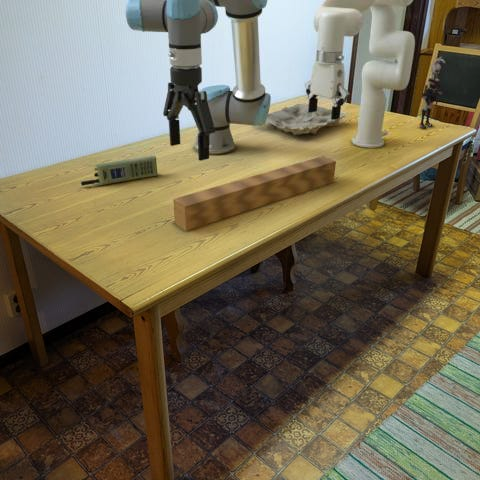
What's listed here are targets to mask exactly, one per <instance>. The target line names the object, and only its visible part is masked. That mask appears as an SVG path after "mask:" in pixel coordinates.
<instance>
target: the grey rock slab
mask: <svg viewBox="0 0 480 480" xmlns="http://www.w3.org/2000/svg"><path fill="white" fill-rule="evenodd" d="M308 109H309V104H307V103H304V104H302V103H297V104H294V105H292V106H289V107H287V106H285V107H282V108H281V109H280V110H276V111H273V112H271V113H268V117H267V120H266V122H265V123H268V124H271V125H273V126H275V127H276V128H277V130H279V131H284V132H285V133H287V134H288V133H291V134H293V136H295V135H302V134H313V135H316V134H317V131H319V129H321V128H323V127H325V126H327V127H328V126H329V127H337V126H339V124H340V121H341V120H342V119H344V118H345V117H348V116H350V113H344V112H340V118H339V119H335V120H332V119H331V114H332V108H331V109H330V108H326V107H323V106H318V105H317V111H315V112H311V113H310V112H308Z"/></svg>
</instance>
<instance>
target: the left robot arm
mask: <svg viewBox="0 0 480 480" xmlns="http://www.w3.org/2000/svg"><path fill="white" fill-rule="evenodd" d="M267 4H268V0H128V1H127V2H126V4H125V5H126V6H125V18H126V19H125V20H126V24H127V25H128V27H129V28H130V29H131V30H133V31H138V32H143V33H145V32H152V33H167V37H168V52H169V53H168V57H169V65H170V68H169V74H170V75H169V77H170V78H169V79H170V82H168V83H167V93H166V98H165V103H164V107H163V111H162V115H163V117H166V120H167V121H168V130H169V145H170V146H171V147H173V146H178V145H181V130H180V125H181V124H180V120H179V118H180V116H179V115H180V114H181V112H182V109H183V107H185V108H187V110H188V111H189V112H190V113H191V116H192V118H193V120H194V122H195V126H196V127H197V130H198V131H197V135H196V138H195V141H194V150H195V151H196V152H198V153H197V155H198V161H205V160H209V159H210V155H225V154H228V153H232V152H233V151H234V150H235V140H234V138H233V135H232V132H231V128H230V127H231V125H230V124H233V125H245V126H252V127H255V126H256V127H262V126H264V125H265V124H266V123H267V122H266V120H267V117H268V115H269V114H270V113H269V112H270V108H271V100H272V97H271V94H270V93H269V92H266V87H265V85H264V84H262V83H261V82H262V81H261V60H260V59H261V58H260V39H259V17H260V16H261V15H262V13H263V9H265V8H266V7H267ZM217 7H220V8H224V11H225V16H226V17H227V18H228V19H230V25H231V36H232V48H233V61H234V72H235V86H234V87H232V90H231V88H230V85H226V84H219V85H218V84H216V85H210V86H206V87H203V88H202V89H201V88H200V89H199V85H200V84H202V82H203V70H202V67H201V65H202V64H203V63H202V62H203V59H202V34H207V33H209V32H211V30H213V29H214V28H215V27H216V25H217V24H218V20H219V13H218V10H217Z"/></svg>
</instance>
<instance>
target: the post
mask: <svg viewBox="0 0 480 480" xmlns="http://www.w3.org/2000/svg"><path fill="white" fill-rule="evenodd" d="M336 164H337V161H336V160H334V159H332V158H329V157H327V156H325V155H322V156H321V155H320V156H318V157H315V158H310V159H307V160H304V161H301V162H300V161H299V162H297V163H293V164H290V165H286V166H282V167H279V168H276V169H272V170H270V171H266V172H262V173H258V174H254V175H251V176H248V177H245V178H241V179H237V180H235V181H230V182H227V183H224V184H220V185H216V186H213V187H210V188H205V189H203V190H199V191H196V192H193V193H189V194H185V195H182V196H178V197H175V198H173V200H172V201H173V216H174V217H173V219H174V223H175V224H176V225H177V226H178V227H180V229H182V230H184V231H186V232H187V231H190V230H194V229H197V228H199V227H203V226H205V225H209V224H212V223H215V222H218V221H221V220H223V219H226V218H229V217H233V216H236V215H238V214H242V213H246V212H248V211H252V210H254V209H258V208H260V207H263V206H266V205H269V204H272V203H275V202H279V201H281V200H284V199H287V198H290V197H293V196H295V195H300V194H302V193H305V192H308V191H311V190H314V189H318V188H320V187H323V186H326V185H329V184H333V183H334V182H335V173H336Z"/></svg>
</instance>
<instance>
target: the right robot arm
mask: <svg viewBox="0 0 480 480" xmlns="http://www.w3.org/2000/svg"><path fill="white" fill-rule="evenodd" d="M413 2H414V0H323V1H322V3H321V4H320V5H319V7H318V8H317V10H316V12H315V14H314V18H313V28H314V30H315V32H317V44H316V55H315V60H314V63H313V67H312V71H311V78H310V80H307V81H306V82H304V87H305V93H306V94H307V99H308V105H309V109H308V112H310V113H311V112H315V111H317V106H318V101H319V100H318V97H321V98H325V99H329V100H331V102H332V106H331V110H332V114H331V119H332V120H335V119H339V118H340V113H341V110H342V106H343V105H344V104H345V103H346V102H347V100H348V98H349V96H350V92H349V91H348V90H347V89H346V87H345V79H346V78H345V75H346V74H345V64H344V62H343V61H344V60H345V55H343V53H344V44H345V37H349V38H350V37H354V36H356V35H358V34H359V33H360V31H362V28H363V25H364V17H363V14H362V12H366V11H368V10H369V9H370V12H371V24H370V35H369V42H368V43H369V44H368V50H369V54H370V55H371V56H373V57H375V58H382V59H392V60H396V61H397V62H395V61H387V60H378V59H377V60H369V61H367V62H366V63H364V65H363V67H362V69H361V97H360V104H359V112H358V118H357V119H358V120H357V127H356V135H355V136H354V137H352V138H351V143H352V144H353V145H355V146H357V147H359V148H367V149H377V148H380V147H384V145H385V141H384V139H383V137H384V136H387V135H388V134H389V133H388V131H387V130H383V125H384V119H385V113H386V105H387V97H386V93H385V91H384V90H383V89H385V90H393V91H404V90H405V89H407V87H408V85H409V82H410V79H411V72H412V65H413V61H414V52H415V45H416V39H415V35H414V34H413V33H412V32H410V31H408V30H397V19H398V13H397V10H396V8H395V7H408V6H410V5H411V4H412V3H413Z"/></svg>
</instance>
